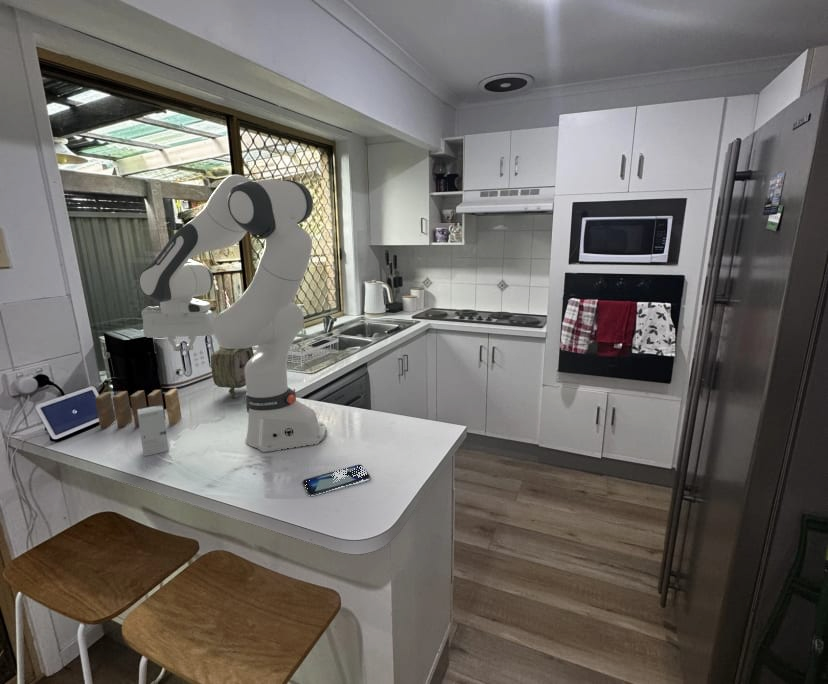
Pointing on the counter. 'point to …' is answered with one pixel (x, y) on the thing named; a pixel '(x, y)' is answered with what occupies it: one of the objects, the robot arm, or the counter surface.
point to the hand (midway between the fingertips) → (183, 350)
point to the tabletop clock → (230, 367)
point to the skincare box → (152, 430)
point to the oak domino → (173, 406)
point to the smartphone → (326, 480)
